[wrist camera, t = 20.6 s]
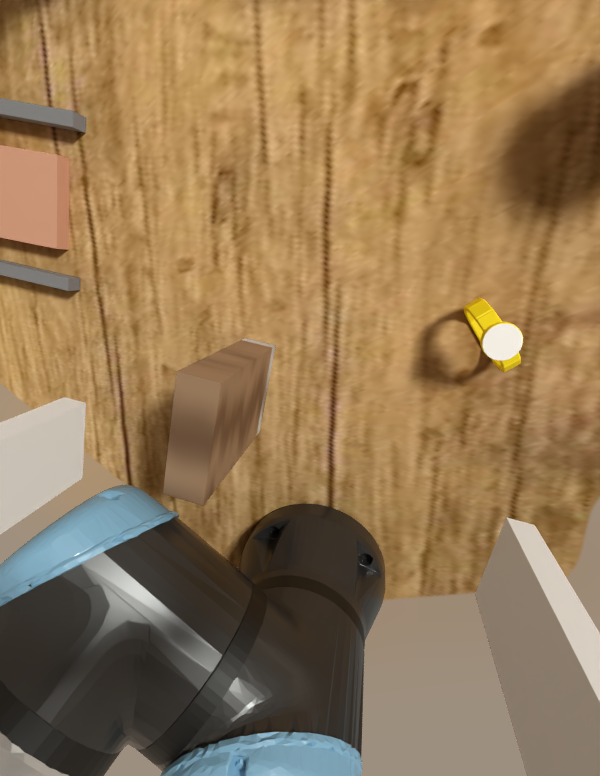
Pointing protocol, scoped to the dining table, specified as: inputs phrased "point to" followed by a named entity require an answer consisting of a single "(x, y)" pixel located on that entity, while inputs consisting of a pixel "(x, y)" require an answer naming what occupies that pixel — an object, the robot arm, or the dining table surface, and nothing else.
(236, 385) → the walnut block
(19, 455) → the robot arm
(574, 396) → the dining table surface
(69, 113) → the slate frame
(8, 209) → the terracotta tile
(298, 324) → the dining table surface
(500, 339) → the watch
